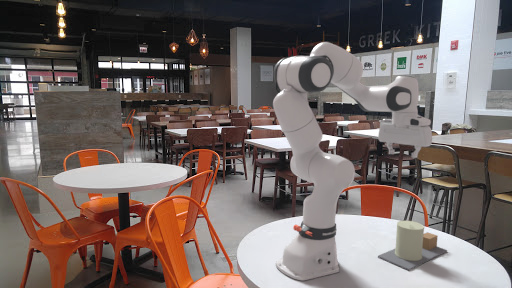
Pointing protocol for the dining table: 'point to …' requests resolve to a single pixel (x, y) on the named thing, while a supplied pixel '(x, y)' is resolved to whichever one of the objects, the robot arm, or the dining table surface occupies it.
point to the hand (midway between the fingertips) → (402, 155)
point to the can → (409, 240)
